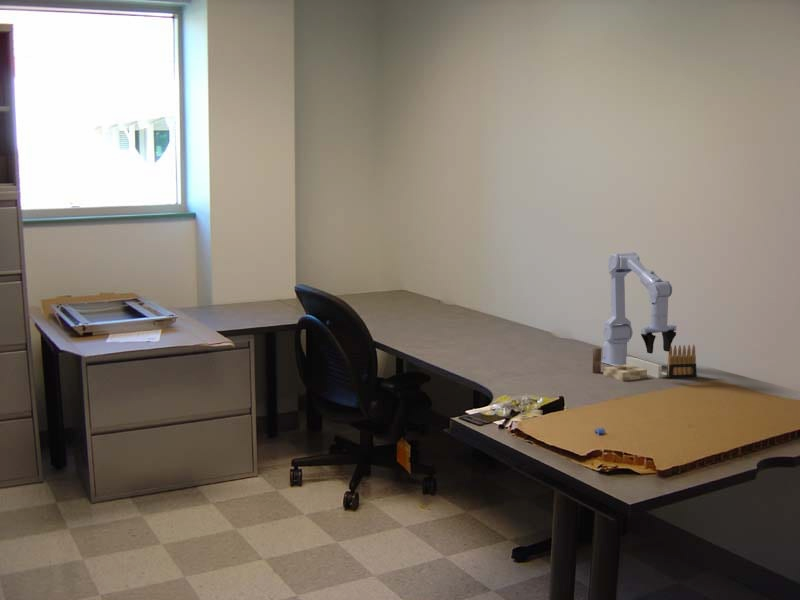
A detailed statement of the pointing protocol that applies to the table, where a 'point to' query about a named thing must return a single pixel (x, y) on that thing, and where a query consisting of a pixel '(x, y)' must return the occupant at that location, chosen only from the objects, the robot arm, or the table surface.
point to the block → (625, 372)
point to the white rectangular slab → (647, 367)
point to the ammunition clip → (681, 363)
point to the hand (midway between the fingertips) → (658, 352)
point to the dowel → (596, 360)
